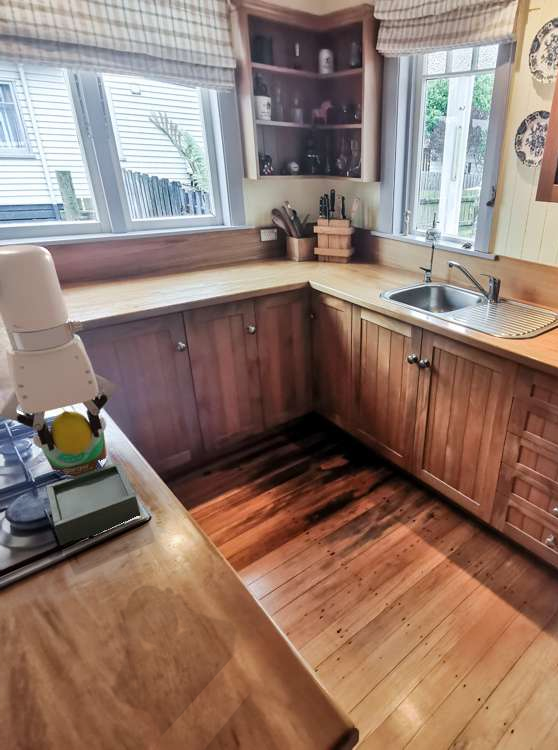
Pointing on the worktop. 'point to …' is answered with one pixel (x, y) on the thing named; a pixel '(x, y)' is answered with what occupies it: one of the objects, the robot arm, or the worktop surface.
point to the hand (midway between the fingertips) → (73, 438)
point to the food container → (76, 455)
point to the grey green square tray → (91, 502)
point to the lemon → (71, 432)
